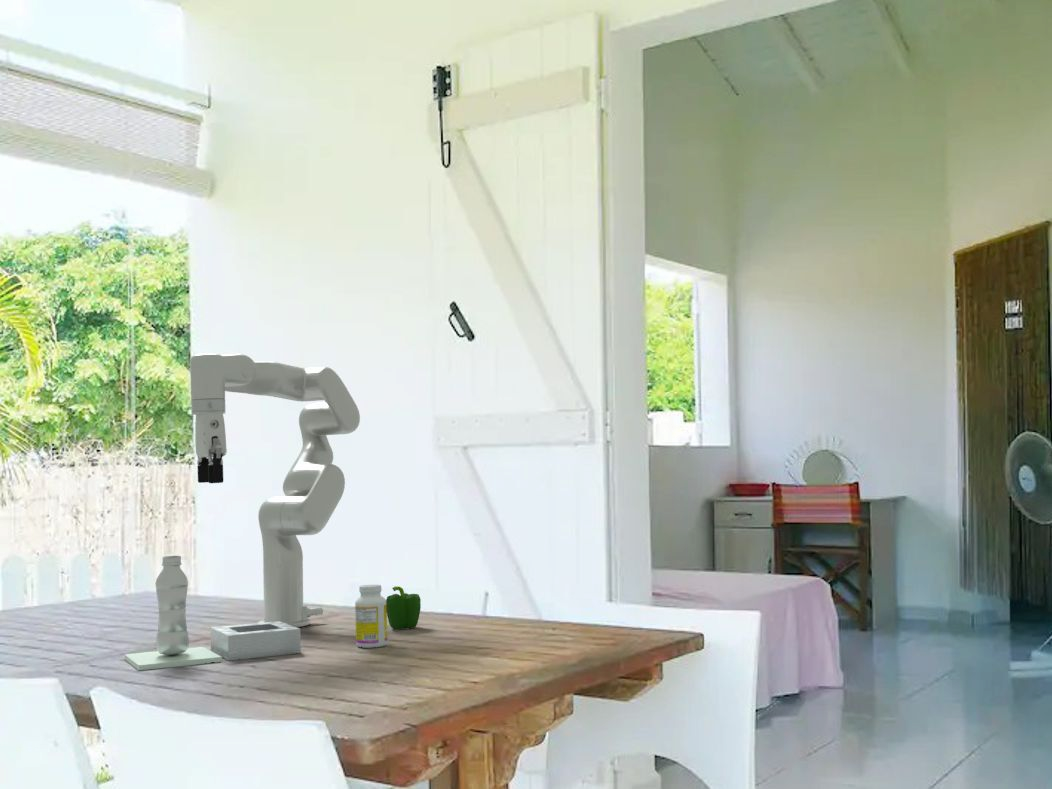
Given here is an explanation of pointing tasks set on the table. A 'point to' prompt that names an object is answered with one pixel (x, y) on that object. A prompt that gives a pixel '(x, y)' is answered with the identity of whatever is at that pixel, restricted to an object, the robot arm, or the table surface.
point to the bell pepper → (403, 609)
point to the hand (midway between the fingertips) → (210, 482)
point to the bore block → (255, 640)
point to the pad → (172, 659)
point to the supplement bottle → (371, 617)
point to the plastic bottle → (172, 608)
